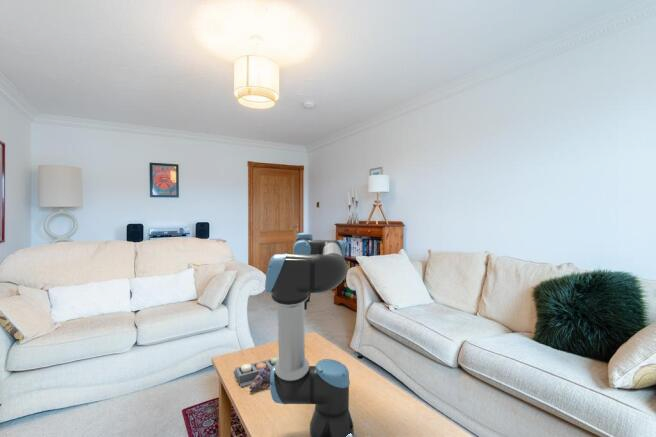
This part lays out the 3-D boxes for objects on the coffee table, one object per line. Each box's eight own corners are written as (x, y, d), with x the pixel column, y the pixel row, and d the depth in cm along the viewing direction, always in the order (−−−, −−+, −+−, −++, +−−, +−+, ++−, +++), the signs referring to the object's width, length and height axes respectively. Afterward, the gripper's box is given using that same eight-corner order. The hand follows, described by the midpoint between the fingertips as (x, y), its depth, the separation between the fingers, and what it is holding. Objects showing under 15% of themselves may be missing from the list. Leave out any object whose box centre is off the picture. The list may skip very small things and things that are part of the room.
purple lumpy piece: (254, 396, 125) (254, 382, 124) (243, 386, 130) (244, 373, 129) (277, 382, 134) (277, 370, 133) (266, 374, 139) (267, 362, 138)
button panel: (289, 374, 141) (289, 366, 141) (241, 387, 130) (241, 379, 130) (278, 360, 153) (278, 353, 153) (233, 372, 142) (233, 364, 142)
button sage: (281, 364, 144) (281, 359, 144) (272, 367, 142) (272, 362, 142) (278, 360, 148) (278, 355, 148) (269, 362, 146) (269, 358, 146)
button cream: (252, 372, 137) (252, 367, 137) (242, 375, 135) (242, 369, 135) (249, 368, 141) (249, 363, 141) (240, 370, 139) (240, 365, 139)
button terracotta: (267, 371, 141) (267, 366, 141) (258, 373, 138) (258, 368, 138) (264, 366, 144) (264, 361, 144) (255, 369, 142) (255, 364, 142)
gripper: (317, 267, 139) (317, 318, 140) (305, 262, 150) (304, 310, 151) (302, 269, 135) (302, 321, 136) (291, 264, 146) (290, 312, 147)
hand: (303, 315), depth 143 cm, fingers closed
